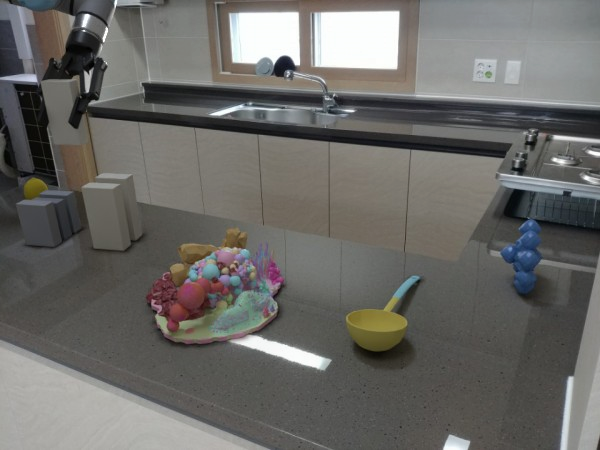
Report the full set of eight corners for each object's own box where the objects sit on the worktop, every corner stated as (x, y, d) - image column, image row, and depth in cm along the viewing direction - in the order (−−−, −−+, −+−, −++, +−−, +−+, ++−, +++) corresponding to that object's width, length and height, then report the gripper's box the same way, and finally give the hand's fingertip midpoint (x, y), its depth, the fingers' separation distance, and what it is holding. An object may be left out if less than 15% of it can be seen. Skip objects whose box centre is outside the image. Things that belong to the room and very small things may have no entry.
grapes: (496, 268, 99) (504, 207, 94) (536, 272, 97) (546, 211, 92) (495, 299, 89) (503, 233, 84) (539, 305, 87) (550, 238, 82)
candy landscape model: (133, 285, 97) (125, 239, 93) (251, 254, 107) (248, 211, 104) (175, 359, 77) (167, 304, 73) (316, 312, 87) (315, 261, 84)
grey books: (54, 226, 124) (45, 188, 120) (81, 228, 122) (73, 189, 118) (26, 244, 115) (15, 203, 111) (54, 247, 113) (44, 205, 110)
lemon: (26, 207, 136) (19, 177, 133) (49, 202, 139) (42, 172, 135) (30, 213, 132) (22, 183, 128) (53, 208, 134) (47, 178, 131)
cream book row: (113, 233, 119) (102, 172, 114) (142, 235, 118) (132, 174, 112) (93, 248, 112) (80, 185, 107) (123, 250, 111) (112, 186, 105)
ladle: (334, 353, 76) (336, 314, 75) (391, 301, 99) (393, 271, 98) (395, 367, 72) (398, 326, 71) (439, 309, 95) (441, 278, 94)
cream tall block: (61, 141, 124) (49, 79, 118) (89, 142, 122) (77, 79, 117) (53, 144, 121) (40, 81, 115) (81, 145, 120) (68, 81, 114)
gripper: (132, 50, 126) (107, 135, 118) (58, 51, 130) (28, 133, 122) (117, 28, 119) (88, 116, 111) (39, 29, 123) (6, 114, 115)
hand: (57, 125), depth 117 cm, fingers closed on cream tall block, 7 cm apart
